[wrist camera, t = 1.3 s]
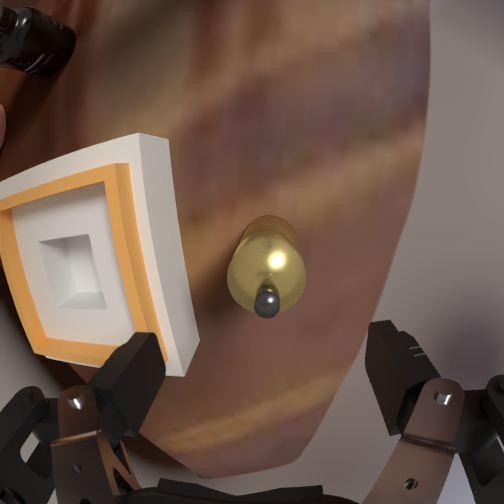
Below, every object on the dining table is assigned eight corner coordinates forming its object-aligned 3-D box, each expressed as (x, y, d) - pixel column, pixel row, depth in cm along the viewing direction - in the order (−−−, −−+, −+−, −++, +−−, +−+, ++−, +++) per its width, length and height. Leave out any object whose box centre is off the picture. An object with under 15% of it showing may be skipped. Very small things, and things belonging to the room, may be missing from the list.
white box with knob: (34, 177, 25) (-16, 185, 17) (168, 139, 23) (125, 130, 16) (79, 352, 31) (47, 387, 24) (204, 362, 30) (186, 414, 22)
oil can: (240, 217, 25) (217, 251, 15) (294, 213, 24) (307, 245, 14) (246, 267, 26) (228, 328, 16) (297, 264, 26) (309, 324, 16)
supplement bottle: (54, 85, 22) (-24, 70, 10) (30, 68, 21) (-38, 54, 10) (88, 34, 20) (18, -1, 9) (60, 22, 19) (-3, -6, 8)
